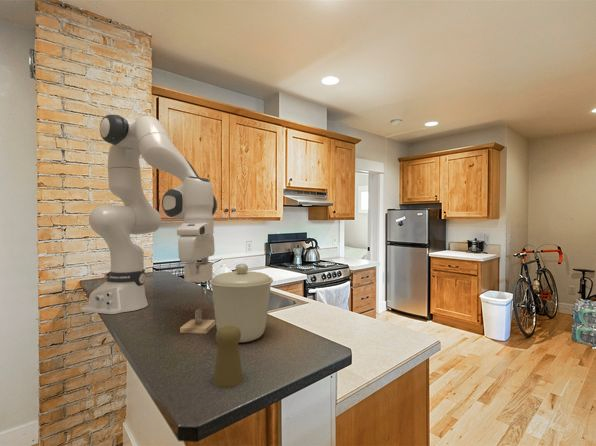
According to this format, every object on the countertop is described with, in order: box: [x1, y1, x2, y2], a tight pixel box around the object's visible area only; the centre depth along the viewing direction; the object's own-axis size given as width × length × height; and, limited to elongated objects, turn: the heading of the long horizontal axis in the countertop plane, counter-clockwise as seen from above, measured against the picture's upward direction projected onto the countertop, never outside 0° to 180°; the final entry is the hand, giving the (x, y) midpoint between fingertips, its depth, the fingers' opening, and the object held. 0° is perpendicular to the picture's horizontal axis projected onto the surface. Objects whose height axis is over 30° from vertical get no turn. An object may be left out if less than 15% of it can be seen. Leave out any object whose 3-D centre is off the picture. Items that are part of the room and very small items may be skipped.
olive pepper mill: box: [212, 326, 244, 389], centre depth 65 cm, size 6×6×11 cm
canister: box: [208, 263, 274, 344], centre depth 89 cm, size 18×18×21 cm
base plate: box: [179, 308, 216, 334], centre depth 96 cm, size 8×8×6 cm
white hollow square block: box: [183, 261, 213, 283], centre depth 96 cm, size 6×6×5 cm
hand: (198, 273), depth 96 cm, fingers closed on white hollow square block, 6 cm apart
